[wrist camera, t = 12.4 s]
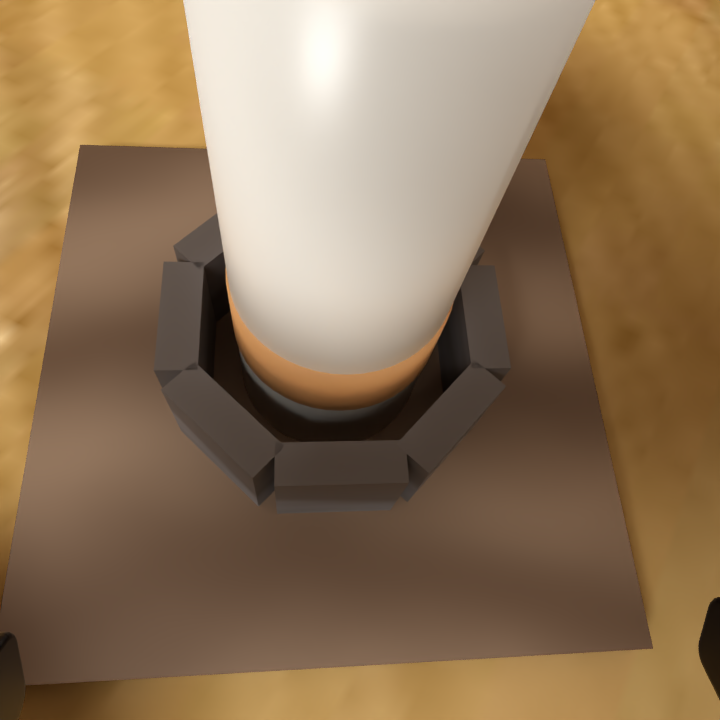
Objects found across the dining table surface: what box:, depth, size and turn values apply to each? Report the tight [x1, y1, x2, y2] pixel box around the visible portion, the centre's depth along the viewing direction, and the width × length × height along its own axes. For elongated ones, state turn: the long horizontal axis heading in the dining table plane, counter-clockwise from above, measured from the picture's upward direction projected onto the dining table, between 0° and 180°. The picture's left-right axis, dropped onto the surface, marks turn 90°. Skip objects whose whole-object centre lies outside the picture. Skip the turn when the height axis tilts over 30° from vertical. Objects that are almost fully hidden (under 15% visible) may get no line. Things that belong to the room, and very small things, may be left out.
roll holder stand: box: [0, 145, 653, 685], centre depth 18 cm, size 16×16×4 cm
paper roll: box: [183, 0, 595, 442], centre depth 13 cm, size 5×5×13 cm
